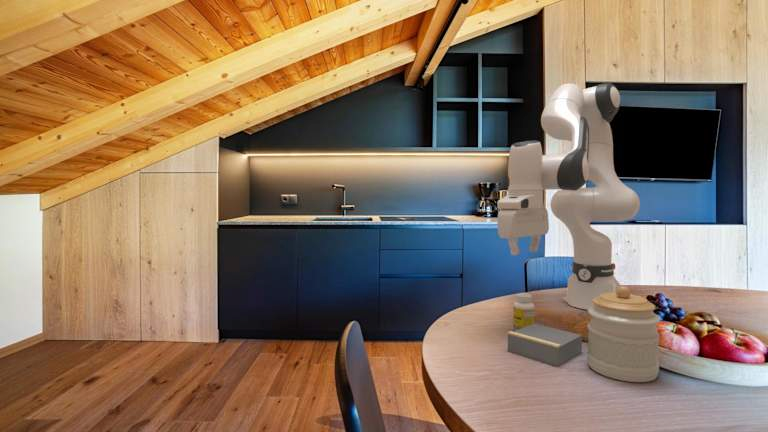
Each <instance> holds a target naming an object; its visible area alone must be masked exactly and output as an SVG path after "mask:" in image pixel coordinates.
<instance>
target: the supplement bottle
mask: <svg viewBox="0 0 768 432" xmlns="http://www.w3.org/2000/svg"><path fill="white" fill-rule="evenodd" d="M515 298H516V301H515V302H514V303H513V330H514V331H516V330H519V329H521V328H524V327H526V326H528V325H531V324H533V323H535V317H536V316H535V315H536V314H535V310H536V308H535V304H534V303H533V295H532V294H530V293H525V292H524V293H517V294H516V296H515ZM535 324H536V323H535Z"/></svg>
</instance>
